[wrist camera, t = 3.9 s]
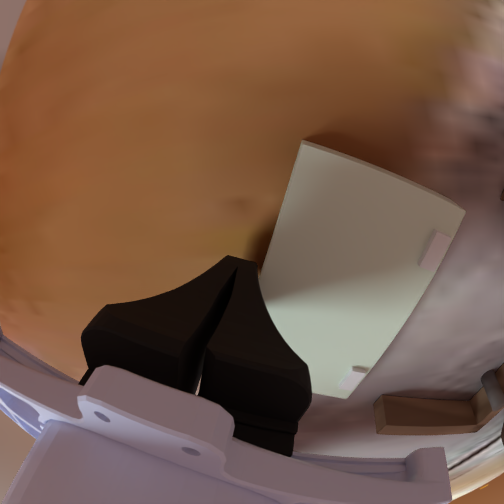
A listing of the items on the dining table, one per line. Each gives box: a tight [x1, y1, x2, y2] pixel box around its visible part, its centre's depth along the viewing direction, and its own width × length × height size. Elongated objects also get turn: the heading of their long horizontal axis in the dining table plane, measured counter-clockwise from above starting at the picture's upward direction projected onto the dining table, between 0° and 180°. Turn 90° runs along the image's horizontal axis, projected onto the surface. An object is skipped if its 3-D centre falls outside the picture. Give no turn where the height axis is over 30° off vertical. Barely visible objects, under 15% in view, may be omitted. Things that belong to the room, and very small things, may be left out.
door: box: [258, 140, 466, 399], centre depth 13 cm, size 12×7×2 cm, turn 166°
